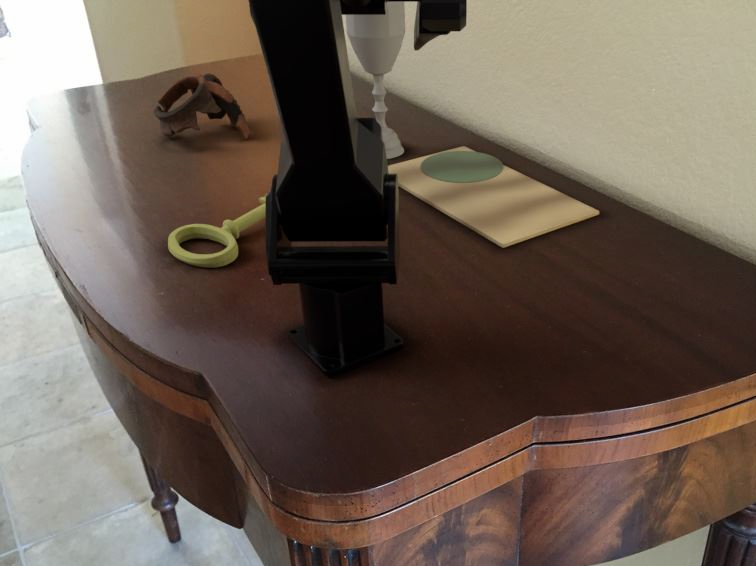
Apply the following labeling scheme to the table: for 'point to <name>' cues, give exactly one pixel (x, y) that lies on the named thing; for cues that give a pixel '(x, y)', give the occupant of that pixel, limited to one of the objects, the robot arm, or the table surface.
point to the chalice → (379, 58)
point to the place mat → (488, 195)
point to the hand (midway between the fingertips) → (369, 46)
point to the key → (214, 238)
